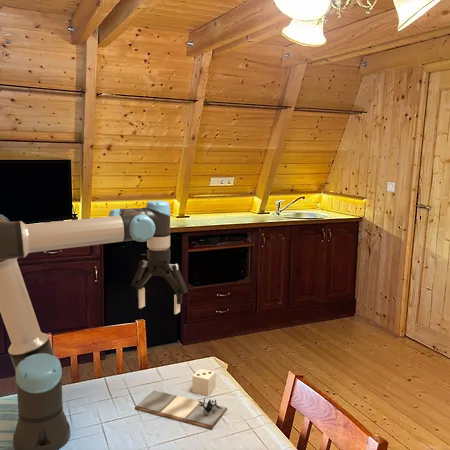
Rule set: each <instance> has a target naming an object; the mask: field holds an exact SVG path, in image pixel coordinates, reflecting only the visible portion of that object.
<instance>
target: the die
mask: <svg viewBox="0 0 450 450" xmlns="http://www.w3.org/2000/svg"><path fill="white" fill-rule="evenodd" d="M216 377H217V374H216V371H215V370H208V369H204V368H203V369H202V368H199V369H198V370H197V371H196V372H195V373H193V375H192V378H191V379H192V380H191V381H192V383H191V384H192V390H191V391H192V393H194V394H197V395H202V396H205V397H206V396H207V397H209V396H211V395H212V393H213V391H214V390H215V389H216V382H217V381H216Z"/></svg>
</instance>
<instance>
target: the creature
mask: <svg viewBox="0 0 450 450" xmlns="http://www.w3.org/2000/svg"><path fill="white" fill-rule="evenodd" d="M211 397H212V396H210V399H209V400H208V401H207V402H206V398H204V399H203V402H204V403H203V404H202V403H201V402H202V401H201V400H197V401H198V402H200V401H201V402H200V403H201V404H202V405H199V406H202V407H203V408H204V412H205V411H206V412H208V413H209V412H210V411H213V410H212V407H213V406H214V405H215V406H216V407H217V408H220V407H218V406H219V405H218V403H217V399H215V400H213V399H211ZM205 403H207V406H206V407H205V406H204V404H205ZM212 404H214V405H212ZM217 405H218V406H217ZM210 406H211V407H210ZM220 409H223V408H220ZM214 410H216V409H214ZM213 413H214V411H213Z"/></svg>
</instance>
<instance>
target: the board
mask: <svg viewBox="0 0 450 450" xmlns="http://www.w3.org/2000/svg"><path fill="white" fill-rule="evenodd" d="M198 401H200V402H201V403H202V404H203V403H204V401H201V400H197V399H193V398H188V397H185V396H180V395H176V394H173V393H167V392H164V391H161V390H155V389H154V390H152V391H151V392H150V393H149V394H148V395H147V396H146V397H145V398H143V399H142V400H141V401H140V402H138V403H137V405H136V406H134V410H136V411H139V412H143V413H147V414H150V415H154V416H157V417H158V416H159V417H163V418H165V419H166V418H167V419H170V420H174V421H176V422H177V421H178V422H181V423H184V424H189V425H193V426H196V427H200V428H204V429H208V430H213V429H214V427H215V426H216V425H217V424H218V422H219V421H220V420H221V419H222V417H223V416H224V414H225V413H226V412H227V411H228V407H225V406H221V405H218V404H216V405H217V406H218V407H220V408H223V409H220V408H217V407H216V406H215V405H214V404H215V403H212V405H214V406H213V407H212V410H213V411H214V413H213V411H210V412H209V413H208V412H206V411H205V412H204V408H203V407H202V406H199V405H202V404H201V403H200V402H198ZM207 403H208V402H205V404H204V406H205V407H206V406H207ZM210 407H211V406H210ZM214 409H216V410H214Z"/></svg>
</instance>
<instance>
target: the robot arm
mask: <svg viewBox="0 0 450 450" xmlns="http://www.w3.org/2000/svg"><path fill="white" fill-rule="evenodd" d="M171 216H172V215H171V206H170V203H169V202H168V201H167V200H166V201H165V200H149V201H147V203H146V206H145V207H141V208H140V207H138V208H137V207H136V208H132V207H131V208H115V209H111V210H110V211H109V213H108V216H102V217H91V218H80V219H70V220H60V221H59V220H58V221H49V222H48V221H47V222H39V223H38V222H37V223H29V224H28V223H27V224H26V223H25V222H23V221H22V220H18V221H17V220H16V221H10V219H8V217H6V216H5V215H3V214H0V314H1V318H2V320H3V324H4V326H5V330H6V331H7V335H8V337H9V340H10V343H11V344H10V346H9V347H8V350H7V352H8V354H9V357H10V359H11V362H12V366H13V368H14V372H15V374H14V375H15V382H16V394H17V408H18V410H17V411H18V419H17V423H16V427H15V431H14V433H13V437H12V441H13V442H12V445H13V450H59V449H61V448H62V447H63V446H65V445H66V444H67V443H68V441H69V440H70V438H71V426H70V424H69V421H68V419H67V416H66V414H65V412H64V403H63V385H62V384H63V383H62V382H63V381H62V374H63V369H62V365H61V364H62V363H61V361H60V359H59V358H58V357H57V356H56V353H55V350H54V348H53V347H52V344H51V341H50V337H49V335H48V334H47V333H45V332H42V331H41V329H40V328H41V327H40V325H39V323H38V319H37V316H36V313H35V310H34V307H33V304H32V301H31V299H30V296H29V292H28V289H27V287H26V283H25V281H24V277H23V275H22V272H21V269H20V266H19V263H18V259H21V258H26V257H27V256H28V254H30V253H39V252H45V251H56V250H63V249H69V248H70V249H71V248H78V247H87V246H94V245H102V244H103V245H104V244H111V243H121V242H129V241H135V242H141V243H144V242H146V246H147V248H148V249H147V250H146V253H147V254H146V255H147V256H146V258H147V260H146V259H143V260H140V261H139V263H138V268H137V271H136V272H135V275H134V277H133V279H132V281H131V284H130V285H131V287H134V288H135V289H136V298H138V309H143V308H144V307H146V289H145V287H144V285H145V284H146V283H147V282H148V280H149V279H151V277H152V276H154V277H156V276H157V277H161V278H162V277H163V278H164V280H166V281H167V282H168V284H169V285H170V287H171V288H172V290H173V291H174V293H175V294H173V296H174V297H173V303H174V305H173V309H174V310H173V314H174V315H177V314H179V313H180V312H181V304H182V303H183V295H184V294H186V293H187V292H188V291H189V290H188V287H187V284H186V282H185V280H184V277H183V275H182V273H181V271H180V264H179V263H175V264H174V263H173V264H172V263H171V248H170V247H171ZM146 268H148V270H147V271H146V270H145V269H146ZM145 271H146V273H145ZM171 271H172V272H171ZM144 273H145V274H144ZM143 274H144V276H143Z"/></svg>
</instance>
